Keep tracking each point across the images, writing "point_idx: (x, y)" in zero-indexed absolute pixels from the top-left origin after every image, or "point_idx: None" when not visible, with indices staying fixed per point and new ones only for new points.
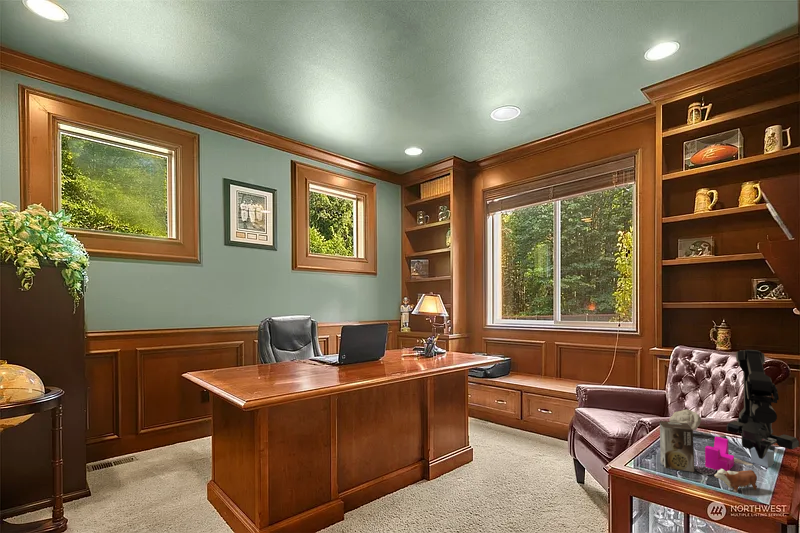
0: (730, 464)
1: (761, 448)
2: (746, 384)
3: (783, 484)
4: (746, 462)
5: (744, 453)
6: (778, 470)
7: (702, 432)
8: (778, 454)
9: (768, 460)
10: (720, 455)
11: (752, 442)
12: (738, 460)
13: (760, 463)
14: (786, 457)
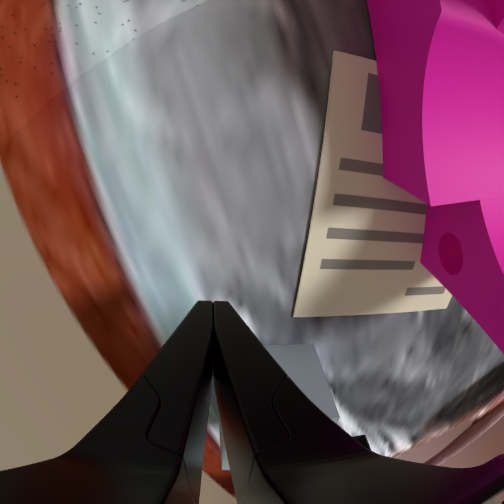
0: (401, 49)
1: (177, 405)
2: None
3: (39, 146)
4: (330, 307)
5: (354, 399)
6: None
7: (469, 410)
8: None
9: None
10: (501, 13)
11: (356, 454)
12: (373, 296)
13: None
14: (219, 465)
